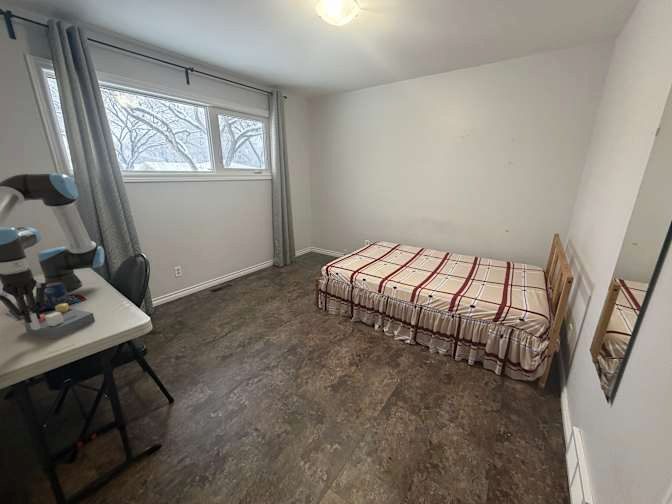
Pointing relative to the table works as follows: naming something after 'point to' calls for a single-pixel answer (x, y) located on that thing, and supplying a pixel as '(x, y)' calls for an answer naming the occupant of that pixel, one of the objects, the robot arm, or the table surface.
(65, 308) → the button ochre
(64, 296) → the soda can
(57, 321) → the slider
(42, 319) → the button red
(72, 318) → the panel
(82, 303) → the table surface
